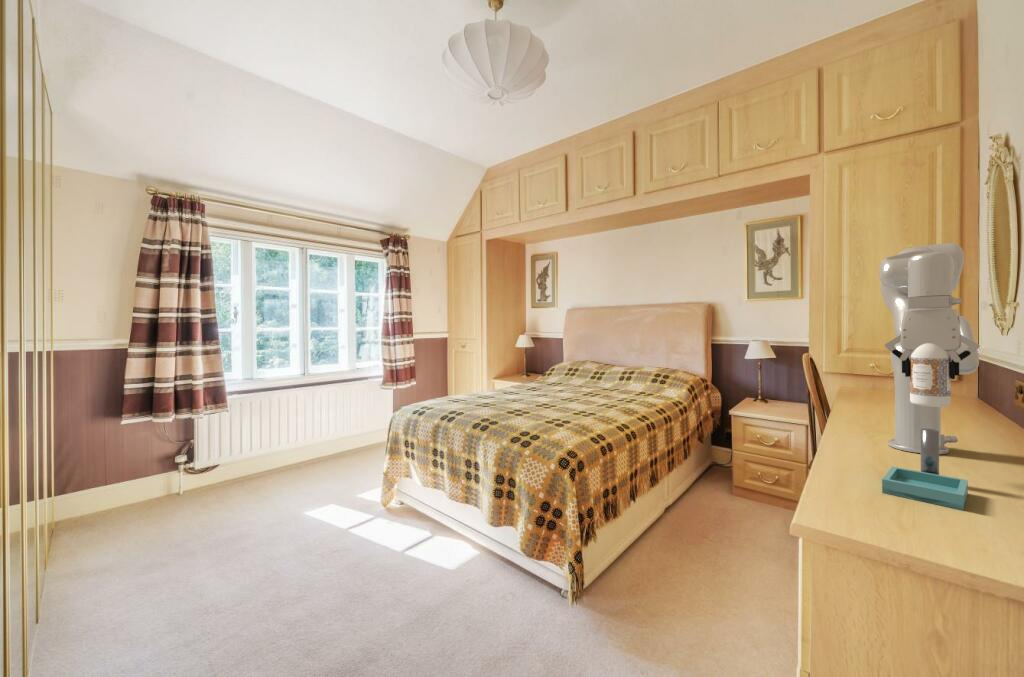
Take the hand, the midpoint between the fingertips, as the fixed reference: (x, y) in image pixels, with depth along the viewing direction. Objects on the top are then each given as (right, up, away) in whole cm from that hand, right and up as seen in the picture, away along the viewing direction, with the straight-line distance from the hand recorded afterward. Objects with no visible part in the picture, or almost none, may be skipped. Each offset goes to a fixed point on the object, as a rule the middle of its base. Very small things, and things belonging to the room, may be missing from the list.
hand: (929, 376), depth 100 cm
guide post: (-5, -24, -5) cm, 25 cm away
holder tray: (-12, -24, -11) cm, 29 cm away
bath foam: (0, -7, 0) cm, 7 cm away
